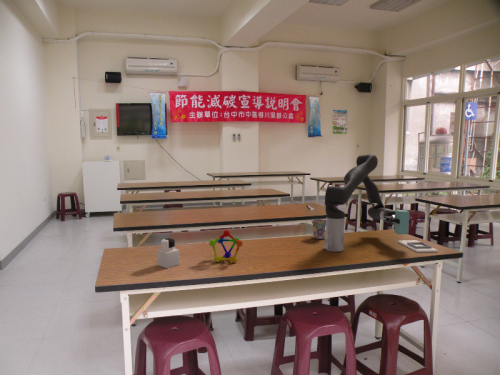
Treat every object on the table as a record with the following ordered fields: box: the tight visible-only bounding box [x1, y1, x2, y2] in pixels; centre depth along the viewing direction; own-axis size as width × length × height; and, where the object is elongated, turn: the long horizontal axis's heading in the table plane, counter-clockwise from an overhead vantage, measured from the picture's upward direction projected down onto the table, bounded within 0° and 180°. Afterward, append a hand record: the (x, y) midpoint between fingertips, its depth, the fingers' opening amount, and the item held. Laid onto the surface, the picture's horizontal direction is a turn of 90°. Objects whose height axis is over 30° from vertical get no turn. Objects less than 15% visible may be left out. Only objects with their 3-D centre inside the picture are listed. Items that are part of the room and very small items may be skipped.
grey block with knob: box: [156, 237, 180, 269], centre depth 158 cm, size 7×7×12 cm
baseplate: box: [397, 239, 439, 253], centre depth 188 cm, size 11×20×2 cm, turn 4°
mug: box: [311, 218, 326, 240], centre depth 208 cm, size 12×9×11 cm
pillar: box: [394, 209, 410, 235], centre depth 184 cm, size 5×5×12 cm
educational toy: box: [208, 229, 244, 264], centre depth 166 cm, size 16×13×15 cm
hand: (404, 222), depth 181 cm, fingers closed on pillar, 5 cm apart
